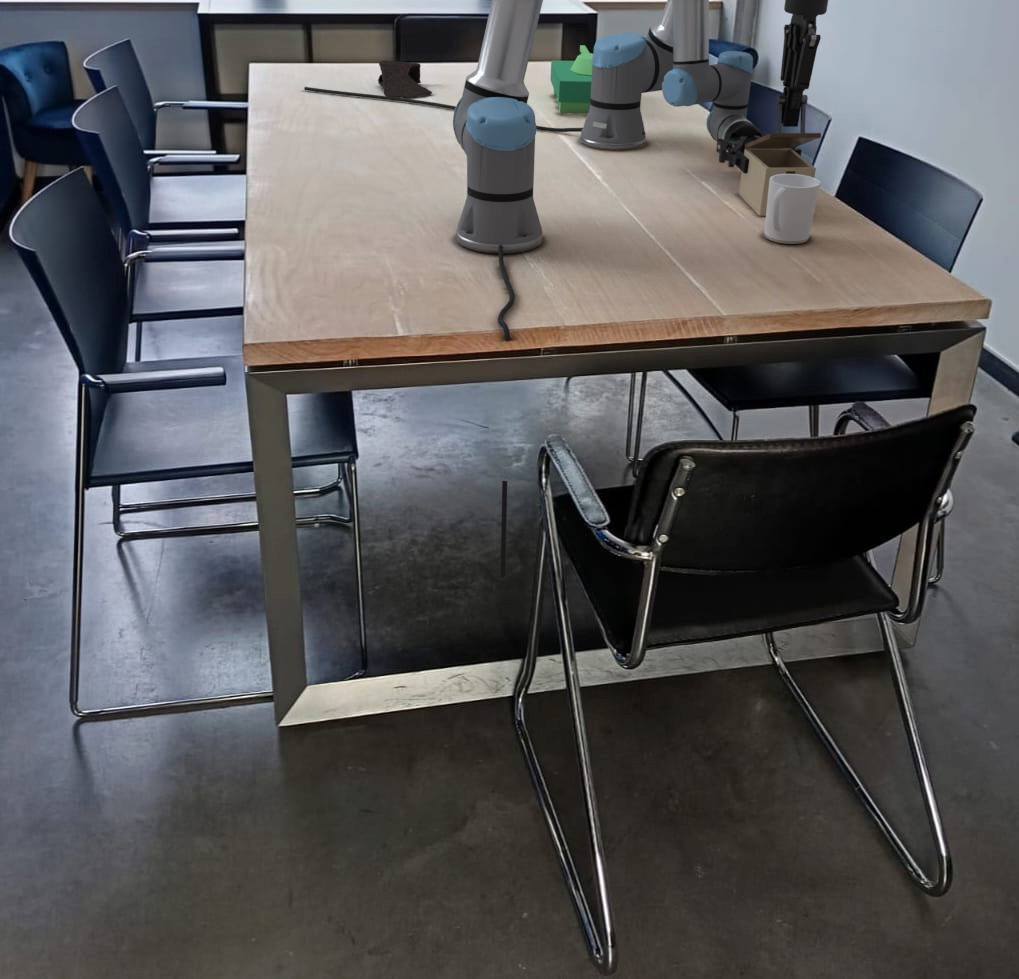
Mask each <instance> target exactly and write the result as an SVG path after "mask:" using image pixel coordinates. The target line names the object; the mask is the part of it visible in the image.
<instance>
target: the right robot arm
mask: <svg viewBox="0 0 1019 979" xmlns="http://www.w3.org/2000/svg"><path fill="white" fill-rule="evenodd" d="M709 45H710V0H666V3H665V6H664V8H663V11H662V13H661V16H660V18H658V19H655V20H653V21H652V22H651V23H650V27H649V28H648V32H647V34H646V37H645V36H644V34H641V33H639V32H622V33H621V32H618V33H617V32H615V33H611V34H607V35H603V36H602V37H600V38H598V39H597V40H596V41H595V43H594V46H593V53H592V54H593V57H592V83H591V100H590V109H589V112H588V114H587V115H586V118H585V119H584V120H585V121H584V123H583V127H550V126H542V125H536V128H537V129H536V131H537V130H539V131H542V132H543V131H545V132H554V133H570V132H571V133H572V132H574V133H575V132H576V133H577V132H579V133H580V143H581V144H582V145H585V146H586V147H589V148H594V149H599V150H606V151H629V150H637V149H639V148H643V147H644V146H645V145H646V140H647V134H646V130H645V125H644V121H643V116H642V111H641V105H642V94H644V93H652V92H662V95H663V98H664V100H665V101H666V102H667V104H669V105H671V106H673V107H691V106H695V105H700V104H701V105H702V104H706V103H707V104H708V103H712V109H711V111H710V112H709V114H708V115H707V119H706V130H707V132H708V133H709V135H710V137H711V138H712V139H713V140H714V141H715V142H716V148H715V152H717V154H718V163H720V164H724V163H725V162H726V161H727V162H728V163H727V167H728V168H735V166H736V168H738V170H740V172H741V173H742V172H743V173H748V165H749V159H748V158H747V157H746V156H745V155H744V151H745V144H748V143H750V142H752V141H754V140H757V139H759V138H761V137H763V135H762V132H761V130H760V129H759V128H758V127H757V126H756V125H755V124H753V123H752V121H750V120H748V119H747V115H748V109H749V108H748V107H749V105H748V104H749V100H750V99H749V98H750V91H751V84H752V77H753V75H754V74H753V70H754V57H753V56H752V55H751V54H750V53H748V52H744V51H737V50H726V51H723V52H721V53H720V54H719V55H718V58H717V62H716V64H710V58H709V57H710V55H709V54H710V46H709ZM303 88H304V91H307V92H309V91H310V92H316V93H323V94H332V95H340V96H348V97H349V96H350V97H358V98H366V99H374V100H375V99H376V100H384V101H385V100H386V101H393V102H400V103H401V102H402V103H409V104H416V105H417V104H418V105H424V106H429V107H430V106H431V107H437V108H443V109H448V110H454V111H455V108H456V106H457V105H456V106H455V105H450V104H446V103H445V104H444V103H440V102H439V103H438V102H433V101H428V100H420V99H412V98H397V97H389V96H385V95H378V94H371V93H370V94H369V93H361V92H351V91H344V90H343V91H342V90H334V89H333V90H332V89H327V88H326V89H325V88H318V87H310V86H304V87H303ZM792 149H793V150H794V151H795V152H796V153H797V154H799V155H800V156H801V157H802V150H803V149H802V148H799V147H798V146H797V147H795V148H792Z"/></svg>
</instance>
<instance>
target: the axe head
mask: <svg viewBox="0 0 1019 979" xmlns="http://www.w3.org/2000/svg"><path fill="white" fill-rule="evenodd" d="M378 66H379V68H380V72H381V74H379V75H378V79H377V84H378V85H379V86H380V87H381V88H382V89H383V96H389V97H397V98H405V99H412V98H418V97H425V96H429V95H432V94H433V91H431V90H430V89H428V88H427V87H425V86H422V85H421V84H422V82H421V63H419V62H410V61H408V62H407V61H397V60H388V59H387V60H380V61H379V62H378Z"/></svg>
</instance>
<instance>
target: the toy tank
mask: <svg viewBox="0 0 1019 979" xmlns="http://www.w3.org/2000/svg"><path fill="white" fill-rule="evenodd" d="M579 52H580V54H578V55H577V56H576V59H575V60H555V59H554V60H551V61H550V83H551V86H552V88H553V96H554V97H556V100H557V102H558V113H559V114H575V115H576V114H577V115H578V114H579V115H580V114H581V115H583V114H585V115H586V114H587V115H588V112H589V109H590V100H591V83H592V57H593V53H591V52H590V51H589V50H588V47H587V46H586V45H583V44H582V45H581V44H580V45H579Z"/></svg>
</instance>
